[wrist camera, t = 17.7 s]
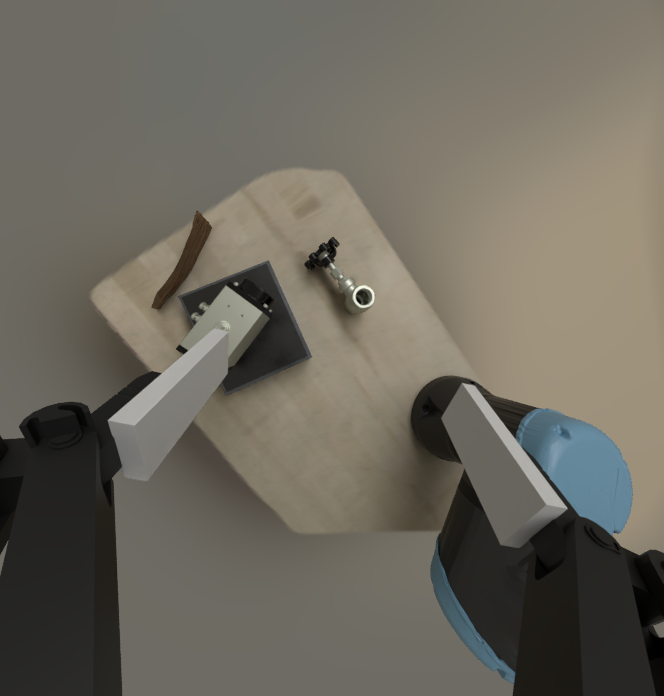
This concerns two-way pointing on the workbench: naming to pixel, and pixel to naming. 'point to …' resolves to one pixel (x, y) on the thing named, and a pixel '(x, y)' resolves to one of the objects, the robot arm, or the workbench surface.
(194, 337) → the pneumatic valve
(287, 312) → the stand
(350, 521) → the workbench surface
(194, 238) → the wood plank
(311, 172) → the workbench surface
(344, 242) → the workbench surface
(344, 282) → the valve
